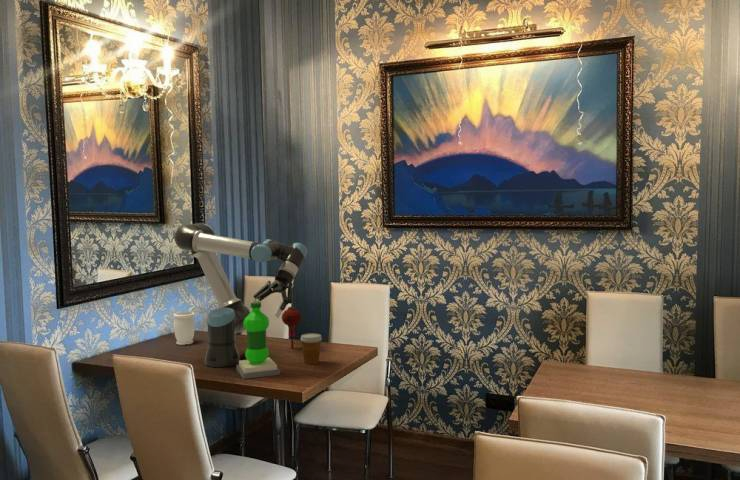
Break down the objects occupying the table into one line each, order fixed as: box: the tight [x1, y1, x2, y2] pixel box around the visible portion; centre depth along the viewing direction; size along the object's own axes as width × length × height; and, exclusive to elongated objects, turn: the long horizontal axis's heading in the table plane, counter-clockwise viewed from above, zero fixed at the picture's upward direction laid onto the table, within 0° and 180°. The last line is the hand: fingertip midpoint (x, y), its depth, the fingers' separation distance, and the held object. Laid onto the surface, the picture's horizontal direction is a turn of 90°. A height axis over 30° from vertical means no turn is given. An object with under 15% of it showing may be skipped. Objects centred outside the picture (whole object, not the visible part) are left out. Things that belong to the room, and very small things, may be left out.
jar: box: [172, 311, 196, 346], centre depth 314 cm, size 11×10×15 cm
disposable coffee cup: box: [299, 333, 323, 365], centre depth 275 cm, size 10×10×12 cm
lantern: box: [281, 303, 302, 350], centre depth 300 cm, size 10×10×30 cm
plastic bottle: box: [243, 301, 270, 364], centre depth 261 cm, size 10×10×25 cm
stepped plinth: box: [235, 356, 281, 380], centre depth 262 cm, size 15×15×4 cm
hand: (264, 314), depth 262 cm, fingers open, 13 cm apart
